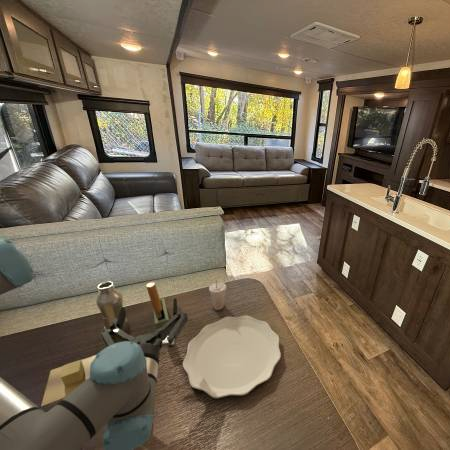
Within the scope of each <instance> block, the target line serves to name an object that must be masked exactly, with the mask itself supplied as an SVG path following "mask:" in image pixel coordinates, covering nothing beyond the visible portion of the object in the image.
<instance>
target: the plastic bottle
mask: <svg viewBox="0 0 450 450" xmlns="http://www.w3.org/2000/svg"><path fill="white" fill-rule="evenodd" d="M97 288H98V293H99V294H98V295H97V298H96V301H95V303H96V306H97V308H98V309H99V311H100V314H101V316H102V320H103V329H110V324H112V323H113V320H114V319H117V318H118V316H119V313H120V310H121V308H124V305H123V302H124V301H123V294H122V293H121V292H120V291H119V290H117V289H116V286H115V285H114V283H113V282H112V281H104V282H101V283H100V284H98V285H97ZM129 328H130V322H129V321H128V319H127V317H126V316H125V320H124V323H123V327H122V331H124V332H125V333H127V332H128V331H129ZM111 338H112V339H114V338H115V337H114V336H112V335H111ZM115 339H116V338H115Z"/></svg>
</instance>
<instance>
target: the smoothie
mask: <svg viewBox="0 0 450 450" xmlns="http://www.w3.org/2000/svg"><path fill="white" fill-rule="evenodd" d="M226 291H227V285H226V283H224V282H221V281H218V278H217V277H215V282H214V283H211V284H210V285H209V287H208V292H209V293H210V296H211V300H212V301H211V302H212V305H213V309H214V310H216V311H219V310H222V309H224V306H225V297H226Z"/></svg>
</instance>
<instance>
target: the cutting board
mask: <svg viewBox="0 0 450 450" xmlns="http://www.w3.org/2000/svg"><path fill="white" fill-rule="evenodd" d="M96 355H97V354H95V355H91V356H89V357H86V358H83V359H80V360H81V361H82V364H83V367H84V372H83V379H82V380H81V381H78V382H75V383H73V384H70V385H67V386H64V383H63V381H62V379H61V375H62V371H63V366H64V365H62V366H59V367H57V368H54V369H51V370H50V372H49V376H48V379H47V383H46V385H45V389H44V394H43V397H42V401H41V405H40V407H41V408H42V407H45V406H47V405H50V404H52V403H55V402H57V401H61V400H63V399H64V398H65V397H66V396H67V395H69V394H70V393H71V392H72V391H74V390H75V389H76V388H77V387H78V386H80V385H81V384H82V383H83V382H84V381H86V380H87V379H88V378H89V377H90V365H91V363H92V361H93V360H94V359H95V357H96Z"/></svg>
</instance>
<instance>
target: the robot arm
mask: <svg viewBox="0 0 450 450" xmlns="http://www.w3.org/2000/svg"><path fill="white" fill-rule="evenodd" d="M34 278H35V272H34V269H33V266H32V264H31V263H30V261H29V259H28V257H27V256H26V255H25V253H24V252H23V251H22V249H21V248H20V247H19V246H18V245H17V244H16V243H15V242H13V241H12V240H11V239H9V238H7V237H0V296H1V295H3V294H6V293H9V292H10V291H13V290H15V289H17V288H19V289H20V288H22V287H23V286H24V285H27V284H29V283H31V282H32V281H33V280H34ZM177 300H178V299H177V298H173V302H172V303H173V304H172V317H171V318H169V321H168V322H166V323H165V324H164V325H163V326H162V327H161V328H160V329H157V330H156V329H155V330H154V331H153V332H148V333H145V334H139V335H137V336H133V335H132V334H128V333H127V332H126V333H125V332H124V331H122V327H123V323H124V320H125V317H126V316H127V313H126V309H125V307H123V308H121V310H120V313H119V316H118V318H117V319H114V320H113V323H112V324H110V329H104V328H102V329H101V330H100V334H101V337H102V339H103V342H104V344H105V346H106V347H105V348H103V349H102V350H100V351H99V352H98V353H97V354H95V355H96V357H95V359H94V360H93V361H92V363H91V365H90V377H89V378H88V379H87V380H86V381H84V382H83V383H82V384H81V385H80V386H78V387H77V388H76V389H75V390H74V391H72V392H71V393H70V394H69V395H67V396H66V397H65V398H62V399H60V400H59V402H57V403H56V404H55V405H54V406H53V407H52V408H50V409H49V410H48V411H44V410H43V409H41V408H40V406H38V405H37V404H36V403H35V402H33V401H32V400H31V399H29V398H28V397H27V396H25V395H24V394H23V393H21V392H20V391H19V390H18V389H17V388H15V387H14V386H13V385H12V384H10V383H9V382H7V381H6V380H5V379H3V378H2V377H1V376H0V450H81V449H83V447H85V445H86V444H87V443H88V442H89V441H90V440H91V439H92V438H93V437H94V436H95V435H96V434H97V433H99V431H100V430H102V429H103V428H104V426H105V425H106V426H105V428H104V430H103V439H102V447H103V450H136V449H138V448H139V447H140V446H142V445H143V444H144V443H146V442H147V440H148V439H149V438H150V435H152V429H153V422H154V419H155V405H156V403H155V402H156V393H157V392H156V391H157V382H158V374H159V364H160V357H161V355H160V354H161V349H162V348H163V347H167V346H168V347H169V348H174V347H175V343H176V340H177V338H178V337H179V335H180V333H181V332H182V330H183V329H184V327H185V326H186V324H187V323H188V322H189V320H188V313H187V312H183V313H182V309H181V306H178V301H177ZM111 335H112V336H114V337H115V339H116V340H118V341H119V342H114V340H113V338H111ZM164 338H165V339H164Z"/></svg>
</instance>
